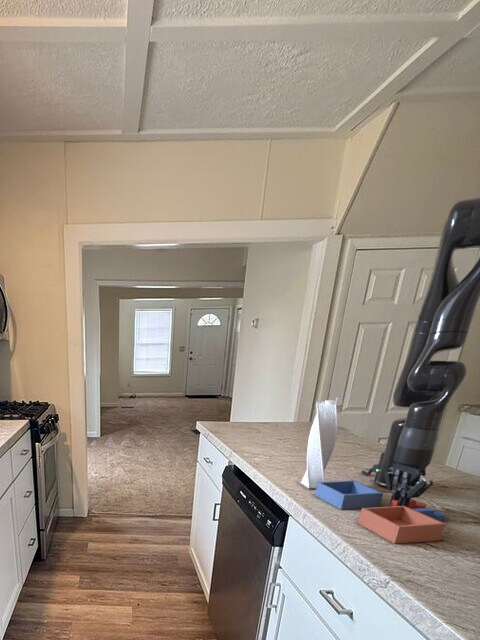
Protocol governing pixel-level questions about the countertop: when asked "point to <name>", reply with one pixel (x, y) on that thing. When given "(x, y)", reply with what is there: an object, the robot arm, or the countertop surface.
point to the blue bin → (348, 494)
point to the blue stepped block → (431, 513)
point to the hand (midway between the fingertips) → (397, 508)
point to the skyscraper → (321, 442)
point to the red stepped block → (410, 504)
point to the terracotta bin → (401, 524)
